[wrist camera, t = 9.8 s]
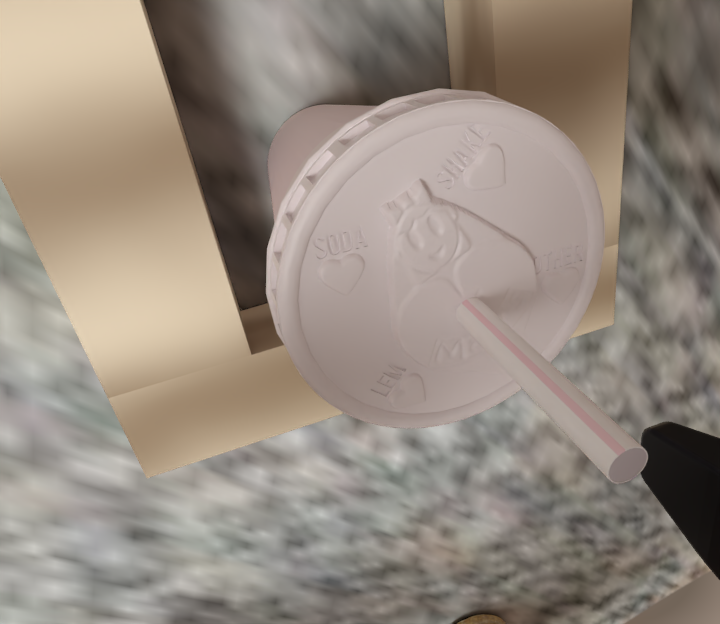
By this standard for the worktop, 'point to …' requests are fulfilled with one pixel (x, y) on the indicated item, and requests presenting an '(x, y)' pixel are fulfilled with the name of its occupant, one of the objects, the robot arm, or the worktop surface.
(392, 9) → the worktop surface
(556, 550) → the worktop surface
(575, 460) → the worktop surface
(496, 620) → the sprinkles bottle
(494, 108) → the smoothie
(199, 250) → the slot board
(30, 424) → the worktop surface
